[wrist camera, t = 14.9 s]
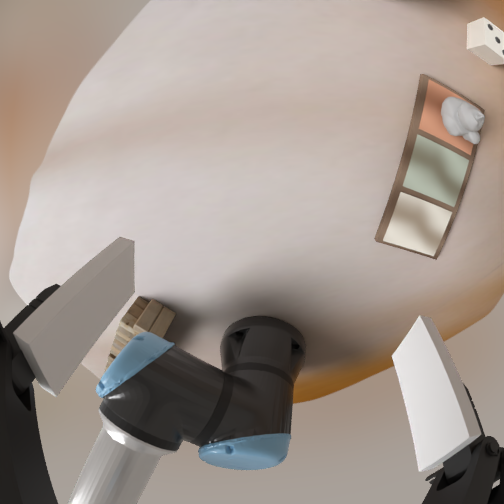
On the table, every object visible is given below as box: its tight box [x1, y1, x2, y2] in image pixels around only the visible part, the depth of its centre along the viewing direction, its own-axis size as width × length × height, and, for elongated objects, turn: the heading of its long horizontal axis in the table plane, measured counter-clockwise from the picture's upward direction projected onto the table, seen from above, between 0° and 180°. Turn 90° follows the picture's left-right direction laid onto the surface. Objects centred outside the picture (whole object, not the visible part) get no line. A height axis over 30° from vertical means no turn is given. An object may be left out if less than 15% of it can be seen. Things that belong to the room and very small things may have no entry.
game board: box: [375, 74, 484, 260], centre depth 29 cm, size 24×11×1 cm, turn 169°
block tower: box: [104, 297, 176, 373], centre depth 50 cm, size 8×8×29 cm
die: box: [467, 18, 504, 65], centre depth 16 cm, size 5×5×5 cm
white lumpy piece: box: [441, 97, 485, 144], centre depth 21 cm, size 5×7×8 cm
